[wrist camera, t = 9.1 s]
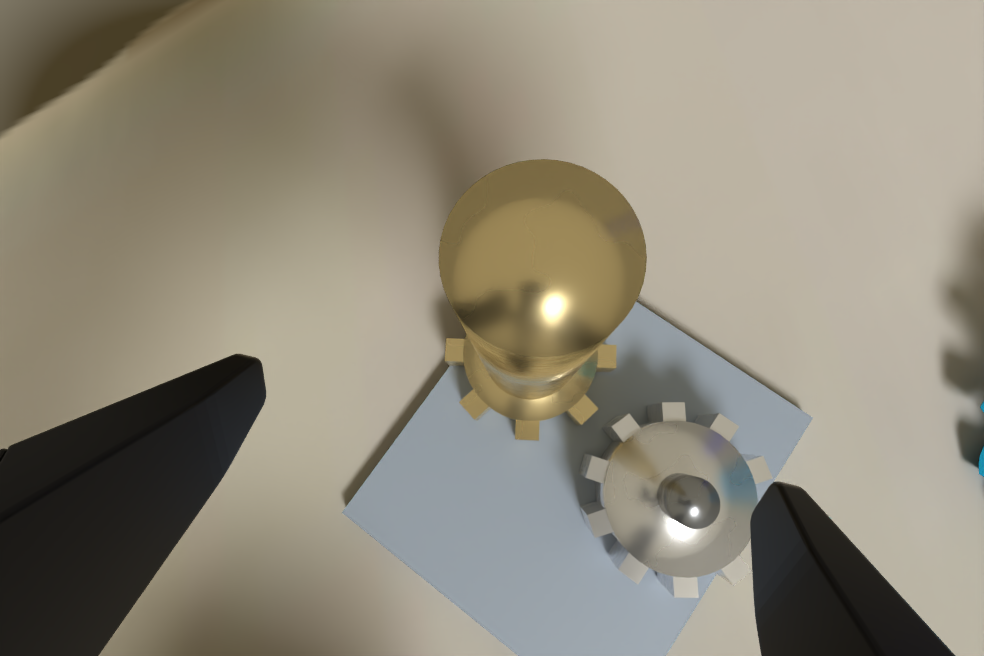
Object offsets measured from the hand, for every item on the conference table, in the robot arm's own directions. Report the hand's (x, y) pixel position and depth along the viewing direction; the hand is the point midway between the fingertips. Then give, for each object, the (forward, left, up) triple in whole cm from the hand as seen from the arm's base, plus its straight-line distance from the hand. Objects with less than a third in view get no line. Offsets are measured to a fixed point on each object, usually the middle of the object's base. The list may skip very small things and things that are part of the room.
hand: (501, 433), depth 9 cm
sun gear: (+2, -6, -13) cm, 14 cm away
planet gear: (+3, +1, -12) cm, 13 cm away
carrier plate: (0, -3, -13) cm, 13 cm away
